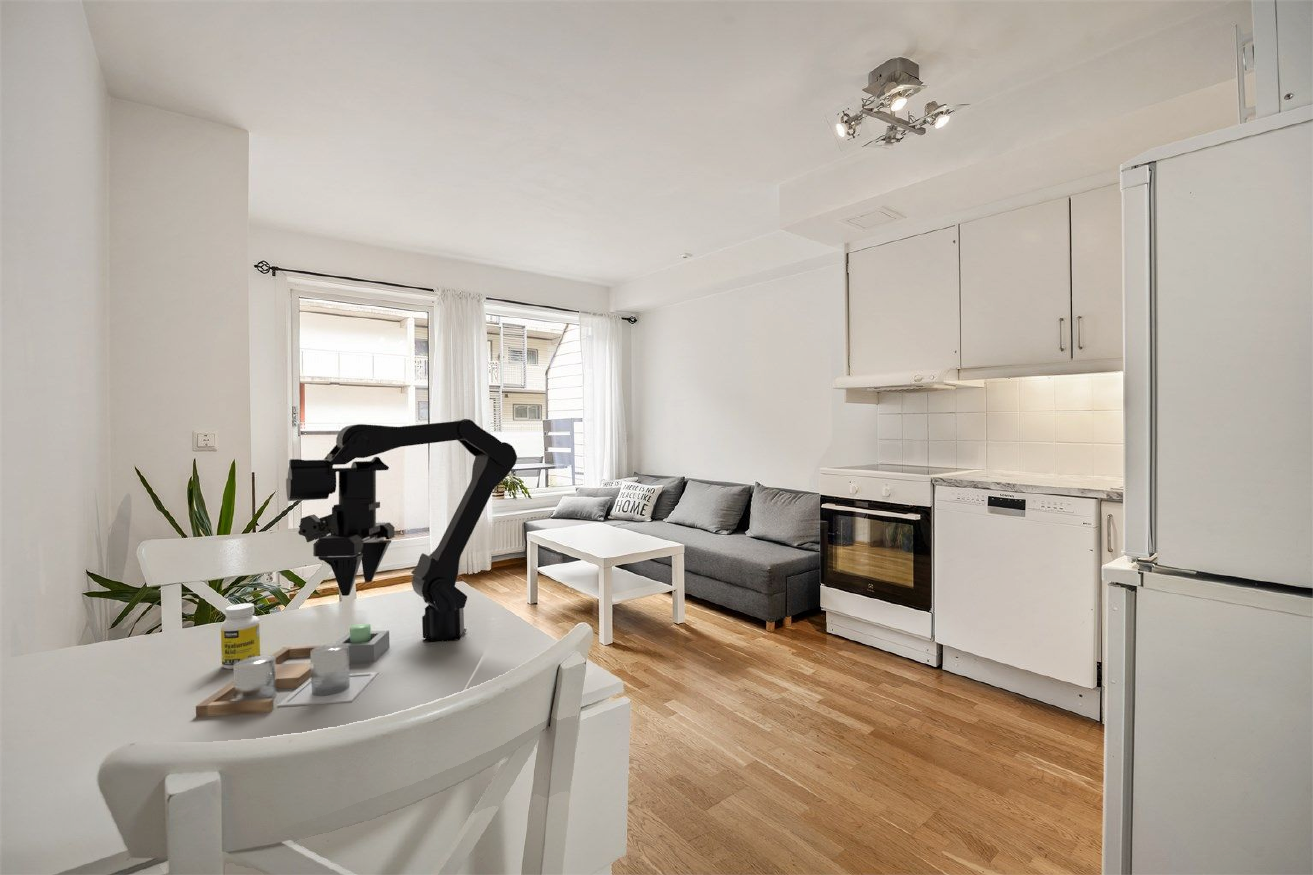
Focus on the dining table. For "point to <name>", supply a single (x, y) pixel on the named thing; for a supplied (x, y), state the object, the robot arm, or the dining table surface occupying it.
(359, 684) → the tray
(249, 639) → the supplement bottle
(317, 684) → the loose steel billet
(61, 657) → the dining table surface
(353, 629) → the button
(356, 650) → the button housing
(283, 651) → the frame
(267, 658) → the seated steel billet
